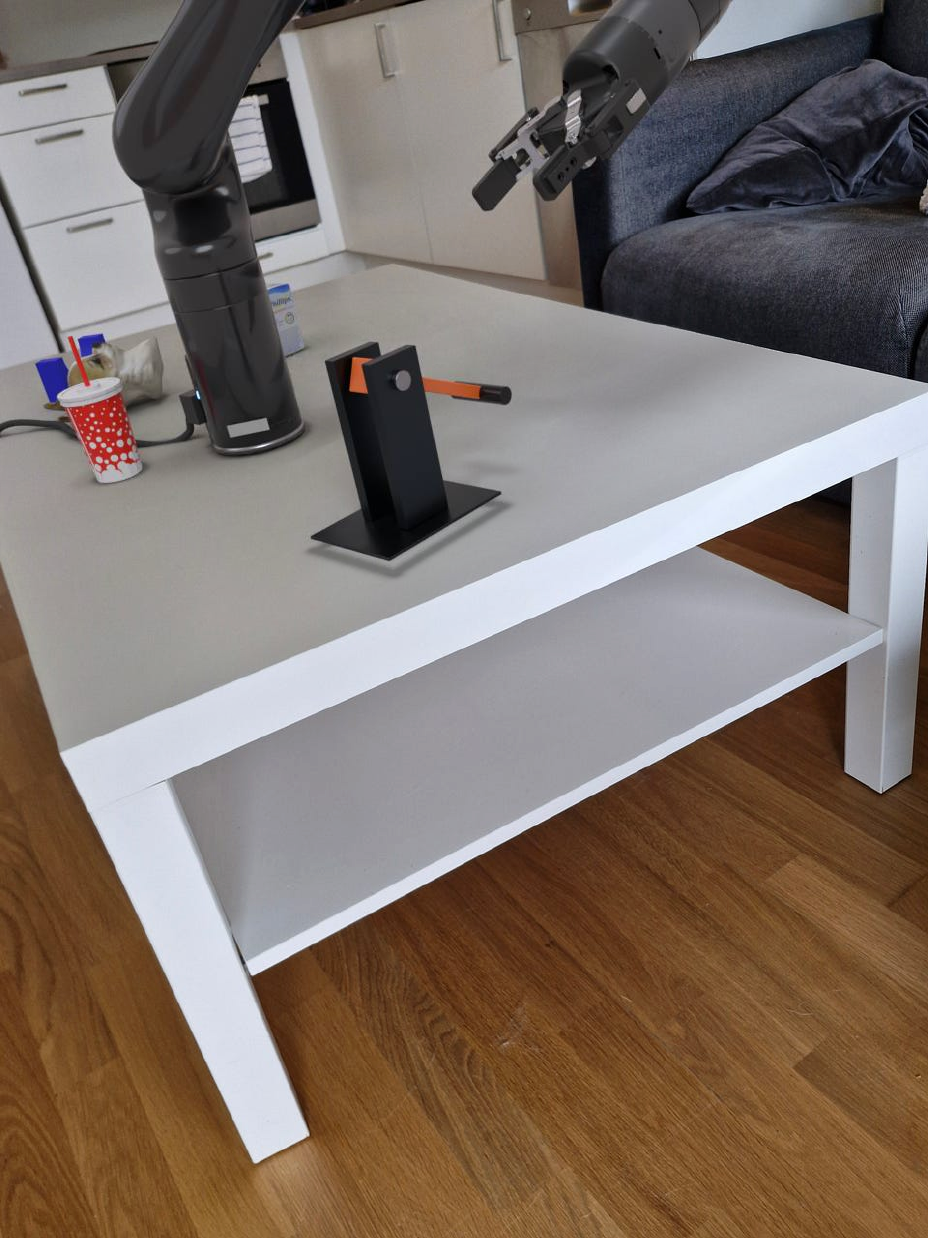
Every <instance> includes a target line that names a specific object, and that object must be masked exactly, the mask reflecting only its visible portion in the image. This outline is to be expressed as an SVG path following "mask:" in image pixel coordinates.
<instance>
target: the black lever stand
mask: <svg viewBox="0 0 928 1238" xmlns="http://www.w3.org/2000/svg"><path fill="white" fill-rule="evenodd" d="M380 348H381V347H380V344H379V342H378V341H368V342H365V343H362V344H360V345H358V346H355V347H354V348H353V347H352V348H350V349H349V350H346V351H343V352H341V353H339V354H337V355H334V356H332V357H329V358H328V359H325V360H324V364H325V369H326V373H327V376H328V377H327V378H328V380H329V386H330V389H331V393H332V396H333V401H334V405H335V410H336V413H337V417H338V421H339V424H340V429H341V433H342V436H343V441H344V446H345V450H346V452H347V456H348V461H349V466H350V469H351V474H352V477H353V482H354V485H355V489H356V493H357V497H358V501H359V506H360V508H359V509H357V510H356V511H354V512H352V513H350V514H348V515H346V516H345V517H343V518H341V519H339V520H338V521H335V522H334V523H331V524H330V525H328V526H326V527H324V528H323V529H321V530H319V531H317V532H316V533H314V534H312V535H310V539H311V540H314V541H317V542H321V543H324V544H327V545H331V546H334V547H338V548H341V549H345V550H349V551H353V552H355V553H359V554H363V555H367V556H370V557H373V558H376V559H380V560H383V561H387V562H391V561H392V560H394V559H396V558H397V557H399V556H400V555H403V554H404V553H405V552H408V551H409V550H411V549H412V548H414V547H416V546H417V545H420V544H421V543H422V542H424V541H426V540H428V539H429V538H431V537H433V536H434V535H436V534H437V533H439V532H441V531H442V530H444V529H446V528H448V527H449V526H451V525H452V524H454V523H456V522H457V521H460V520H461V519H462V518H465V516H467V515H469V514H470V513H473V512H474V511H475V510H476V511H477V509H479V508H481V507H482V506H485V505H486V504H487V503H489V502H490V501H493V500H494V499H496V498H497V497H499V496H501V495H502V491H501V490H496V489H492V488H486V487H481V486H475V485H470V484H467V483H461V482H456V481H450V480H445V479H444V477H443V472H442V468H441V463H440V458H439V453H438V449H437V444H436V439H435V434H434V428H433V424H432V420H431V414H430V409H429V405H428V399H427V394H426V392H425V389H424V385H423V380H422V377H423V375H422V370H421V366H420V361H419V355H418V350H417V345H415V344H404V345H402V346H400V347H398V348H395V349H393V350H391V351H388V352H386V353H383V354H382V352H381V349H380ZM353 357H357V358H368V359H372V360H370V361H368V362H366V363H363V364H362V365H361V366H362V370H363V374H364V379H365V383H366V387H367V392H368V394H365V393H357V392H350V391H349V389H350V379H351V369H352V359H353Z"/></svg>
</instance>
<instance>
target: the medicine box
mask: <svg viewBox="0 0 928 1238" xmlns="http://www.w3.org/2000/svg"><path fill="white" fill-rule="evenodd" d="M265 284H266V287H267V291H268V294H269V298H270V302H271V306H272V309H273V313H274V317H275V320H276V324H277V328H278V332H279V335H280V339H281V343H282V347H283V350H284V354H285V358H286V357H289V356H291V355H293V354H296V353H297V352H300V351H302V350H304V349H305V348H306V347H305V342H304V340H303V339H304V338H303V335H302V329H301V326H300V322H299V318H298V315H297V311H296V307H295V303H294V298H293V295H292V290H291V287H290V284H289V283H265Z"/></svg>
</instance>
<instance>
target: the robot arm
mask: <svg viewBox="0 0 928 1238" xmlns="http://www.w3.org/2000/svg"><path fill="white" fill-rule="evenodd" d="M306 1H307V0H181V2H180V4H179V6H178V8H177V10H176V12H175V14H174V16H173V17H172V19H171V20H170V23H169V24H168V25H167V28H166V30H165V31H164V32H163V34H162V36H161V37H160V39H159V41H158V42H157V43H156V45H155V47H154V48H153V50H152V52H151V53H150V54H149V57H148V58H147V60H146V61H145V63H144V64H143V66H142V67H141V69H140V70H139V72H138V73H137V75H136V76H135V78H134V79H133V80H132V82H131V83H130V84H129V86H128V88H127V89H126V90H125V92H124V93H123V94H122V97H121V98H120V99H119V101H118V103H117V105H116V107H115V111H114V113H113V117H112V121H111V140H112V141H111V142H112V146H113V147H112V148H113V151H114V154H115V156H116V160H117V162H118V164H119V166H120V167H121V169H122V171H123V173H124V174H125V175H126V176H127V178H128V179H129V180H130V181H132V183H134V184H135V185H136V186H137V187H139V188H140V189H141V192H142V195H143V198H144V202H145V205H146V208H147V212H148V216H149V221H150V224H151V230H152V238H153V253H154V258H155V261H156V265H157V267H158V271H159V273H160V277H161V278H162V282H163V286H164V289H165V292H166V295H167V299H168V302H169V305H170V308H171V311H172V314H173V318H174V320H175V323H176V327H177V330H178V333H179V336H180V340H181V342H182V346H183V350H184V352H185V354H184V362H185V364H186V367H187V370H188V374H189V377H190V380H191V384H192V386H193V389H189V390H188V391H185V392H182V393H180V394H178V398H179V400H180V403H181V407H182V410H183V413H184V416H185V418H184V419H185V427H186V429H185V430H184V431H183V432H182V433H181V434H180V435H178V436H177V437H175V438H172V439H168V440H162V441H152V440H142V439H135V442H136V445H137V448H148V447H156V446H162V445H170V444H174V443H175V444H176V443H182V442H186V441H187V440H189V439H190V438H192V436H193V434H194V433H195V425H196V426H202V425H205V427H206V430H207V434H208V437H209V440H210V443H211V444H212V446H213V448H214V449H213V450H214V451H215V452H216V453H217V454H219V455H225V456H243V455H251V454H255V453H261V452H265V451H268V450H271V449H275V448H278V447H280V446H282V445H286V444H287V443H289V442H290V441H293V440H294V439H296V438H298V437H299V436H300V435H301V434H302V433H304V431H305V428H306V427H305V426H306V425H305V422H304V419H303V418H302V415H301V412H300V407H299V404H298V400H297V396H296V392H295V388H294V385H293V380H292V376H291V373H290V369H289V366H288V362H287V358H286V357H285V354H284V350H283V347H282V343H281V339H280V335H279V332H278V328H277V324H276V320H275V317H274V313H273V309H272V306H271V302H270V298H269V294H268V291H267V287H266V284H267V283H266V280H265V276H264V273H263V269H262V265H261V262H260V258H259V256H258V255H259V253H258V251H257V246H256V243H255V242H256V241H255V237H254V231H253V225H252V219H251V213H250V209H249V205H248V201H247V197H246V193H245V189H244V184H243V181H242V177H241V173H240V170H239V169H240V168H239V165H238V161H237V158H236V153H235V150H234V146H233V142H232V138H231V134H230V132H229V129H230V126H231V125H232V122H233V120H234V117H235V115H236V112H237V110H238V107H239V105H240V103H241V100H242V98H243V96H244V94H245V92H246V90H247V87H248V85H249V83H250V81H251V79H252V77H253V75H254V73H255V72H256V70H257V68H258V66H259V65H260V63H261V62H262V60H263V58H264V57H265V56H266V54H267V52H268V51H269V49H270V48H271V47H272V46H273V44H274V43H275V42H276V40H277V39H278V38H279V37H280V36H281V34H282V33H283V32H284V30H285V29H286V28H287V27H288V25H289V24H290V23H291V22H292V20H293V19H294V17H295V16H296V15H297V14H298V12H299V11H300V10H301V8H302V7H303V6H304V4H305V2H306ZM733 1H734V0H616V1H615V2H614V3H613V4H612V5H611V6H610V8H608V10H607V11H606V12H605V13H604V15H603V16H602V17H601V18H600V19H599V20H598V21H597V22H596V23H595V24H594V25H593V27H592V28H591V29H590V30H589V31H588V32H587V34H585V36H584V37H583V38H582V39H581V40H580V41H579V43H577V45H576V46H575V47H574V48H573V49H572V50H571V52H570V53H568V55H567V56H566V57H565V60H564V62H563V64H562V68H561V81H562V83H561V84H562V94H559V95H556V96H555V97H554V98H552V99H551V100H550V101H548V102H547V103H546V104H545V105H544V107H543V110H542V111H541V112H540V110H539V108H538V106H533V107H530V108H529V109H528V110H527V111H526V112H525V114H524V115H523V116H521V118H520V119H519V120H518V121H517V122H516V123H515V124H514V126H513V127H512V128H511V129H510V130H509V131H508V132H507V133H506V134H505V135H504V136H503V137H502V139H501V140H500V141H499V142H498V143H497V144H496V145H495V146H494V147H493V148H492V149H491V150H490V152H489V153H488V155H487V156H488V158H489V159H490V161H491V162H492V164H493V165H491V166H490V168H489V170H487V172H486V173H485V174H484V175H483V176H482V177H481V178H480V180H479V181H478V182H477V183H475V185H474V186H473V188H472V189H471V196H472V198H473V199H474V201H475V202H476V203H477V205H478V206H479V207H480V209H481V210H482V211H483V212H491V211H494V209H496V207H497V206H498V205H499V204H500V203H501V202H502V200H503V199H504V198H505V197H506V195H507V194H508V193H509V192H510V191H511V190H512V188H513V187H514V186H515V185H516V184H517V183H518V182H519V181H520V180H521V179H522V178H524V177H525V176H526V175H528V174H529V173H530V172H532V171H533V170H534V169H537V172H536V173H535V174H534V175H533V176H532V181H531V182H532V185H533V187H534V189H535V190H536V191H537V193H538V194H539V196H540V197H541V199H542V200H543V201H544V202H553V201H556V200H557V198H558V197H559V196H560V195H561V193H562V192H563V191H564V190H565V189H566V187H568V185H569V184H570V183H571V182H572V181H573V180H574V178H575V177H576V176H577V175H579V172H581V170H585V169H588V168H590V167H591V166H592V165H593V164H594V163H595V162H596V160H597V157H598V156H599V157H600V159H601V160H602V161H605V160H608V159H610V158H612V157H613V156H614V154H615V153H616V152H617V150H618V149H619V148H621V146H622V144H624V142H625V141H626V140H627V138H628V137H629V136H630V134H631V133H632V132H633V131H634V129H635V128H636V127H637V126H638V124H640V122H641V121H642V120H643V118H644V117H645V116H646V115H647V113H648V112H649V111H650V110H651V108H652V107H653V106H654V105H655V103H656V102H657V100H658V99H660V97H661V96H662V95H663V93H665V91H667V89H668V88H669V87H670V85H671V84H672V83H673V82H674V81H675V80H676V79H677V77H678V76H679V75H680V74H681V72H682V71H683V69H684V68H685V66H686V65H687V63H688V62H689V60H690V59H691V57H692V55H693V54H694V52H696V51H697V49H698V48H699V47H700V46H701V45H702V44H703V42H704V41H705V40H706V39H707V37H708V36H709V35H710V34H711V33H712V32H713V30H714V29H715V28H716V27H717V25H718V24H719V23H720V21H721V20H722V19H723V17H724V16H725V14H726V12H727V11H728V9H729V8H730V5H731V3H732V2H733ZM608 134H609V135H612V136H611V137H610V138H609V136H608ZM541 146H543V148H544V149H545V151H546V153H541V152H540V151H539V148H540V147H541ZM515 154H516V156H515V158H514V156H513V155H515ZM13 427H38V428H55V429H60V430H63V431H64V432H65V433H66V434H68V436H70V437H73V438H75V439H78V437H77V434H76V432H75V430H74V428H73V427H71V426H70V425H68V424H67V423H63V422H58V421H57V420H46V419H44V420H43V419H30V418H29V419H28V418H20V419H18V418H17V419H9V420H6V421H3V422H1V423H0V434H1V433H2V432H3V431H5V430H7V429H9V428H13Z"/></svg>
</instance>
